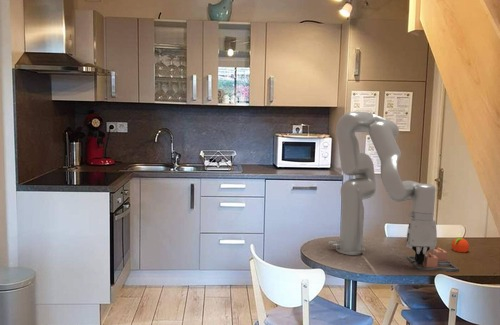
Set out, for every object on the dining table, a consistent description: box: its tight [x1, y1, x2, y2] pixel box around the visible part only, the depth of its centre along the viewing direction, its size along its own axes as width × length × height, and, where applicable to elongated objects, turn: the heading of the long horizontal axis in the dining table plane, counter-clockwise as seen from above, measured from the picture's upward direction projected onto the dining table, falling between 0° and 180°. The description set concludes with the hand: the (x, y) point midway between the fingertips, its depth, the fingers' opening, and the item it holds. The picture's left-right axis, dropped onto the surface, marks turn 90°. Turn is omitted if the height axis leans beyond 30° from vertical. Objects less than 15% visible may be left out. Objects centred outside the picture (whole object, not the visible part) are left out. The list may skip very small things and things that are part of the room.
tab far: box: [432, 247, 448, 262], centre depth 181 cm, size 4×4×5 cm
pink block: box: [422, 252, 438, 268], centre depth 173 cm, size 4×4×5 cm
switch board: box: [406, 255, 460, 273], centre depth 178 cm, size 24×17×2 cm
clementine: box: [451, 237, 470, 254], centre depth 197 cm, size 8×7×7 cm
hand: (419, 263), depth 173 cm, fingers closed
